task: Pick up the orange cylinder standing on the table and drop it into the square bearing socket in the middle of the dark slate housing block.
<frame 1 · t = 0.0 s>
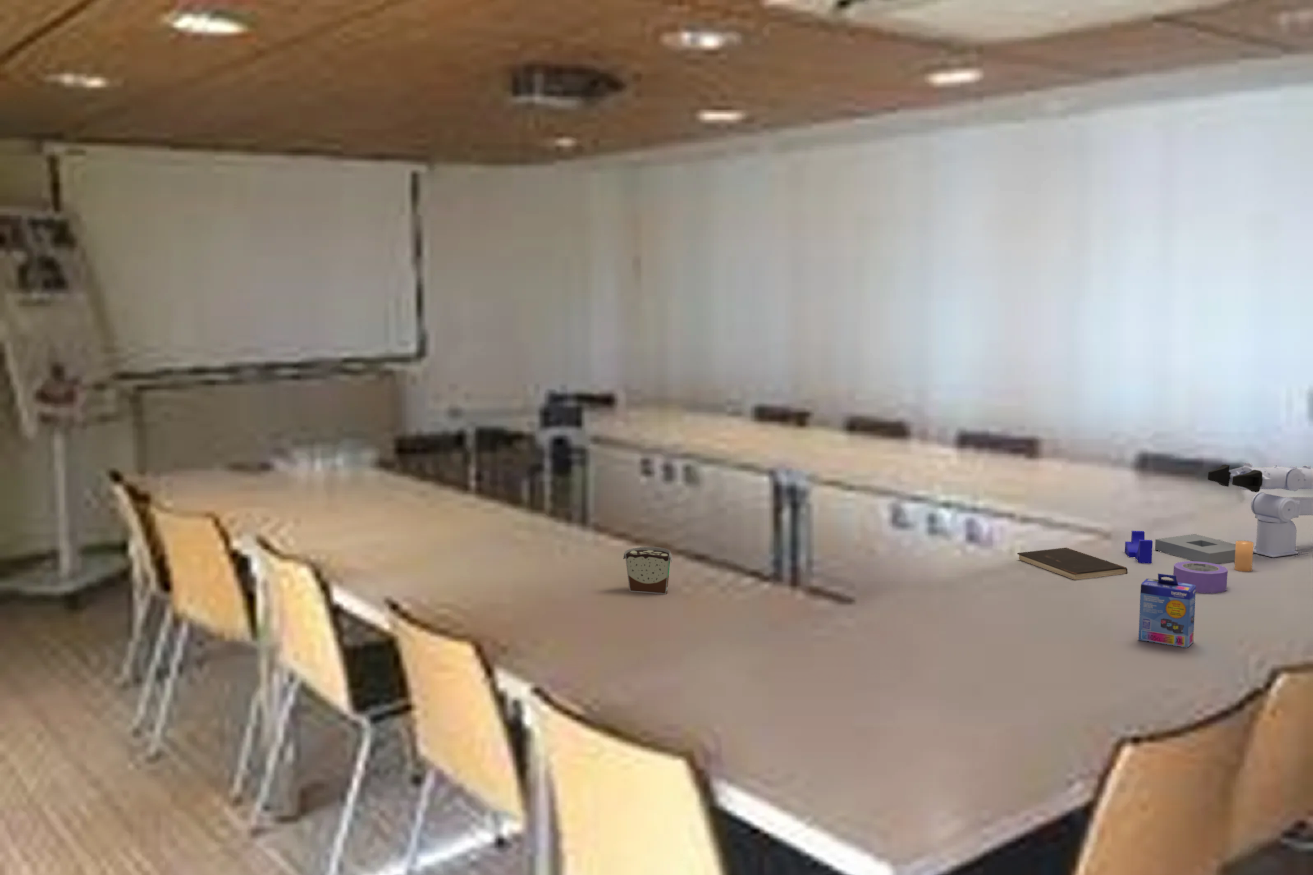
hand: (1221, 478, 312), 22 cm above the table, tool horizontal, fingers open, 7 cm apart
tape roll: (1199, 588, 292), on the table
food container: (652, 590, 297), on the table
ink cartridge box: (1165, 642, 251), on the table
hardcover book: (1070, 569, 312), on the table
housing: (1201, 554, 322), on the table
cable clip: (1137, 558, 320), on the table
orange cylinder: (1243, 569, 306), on the table
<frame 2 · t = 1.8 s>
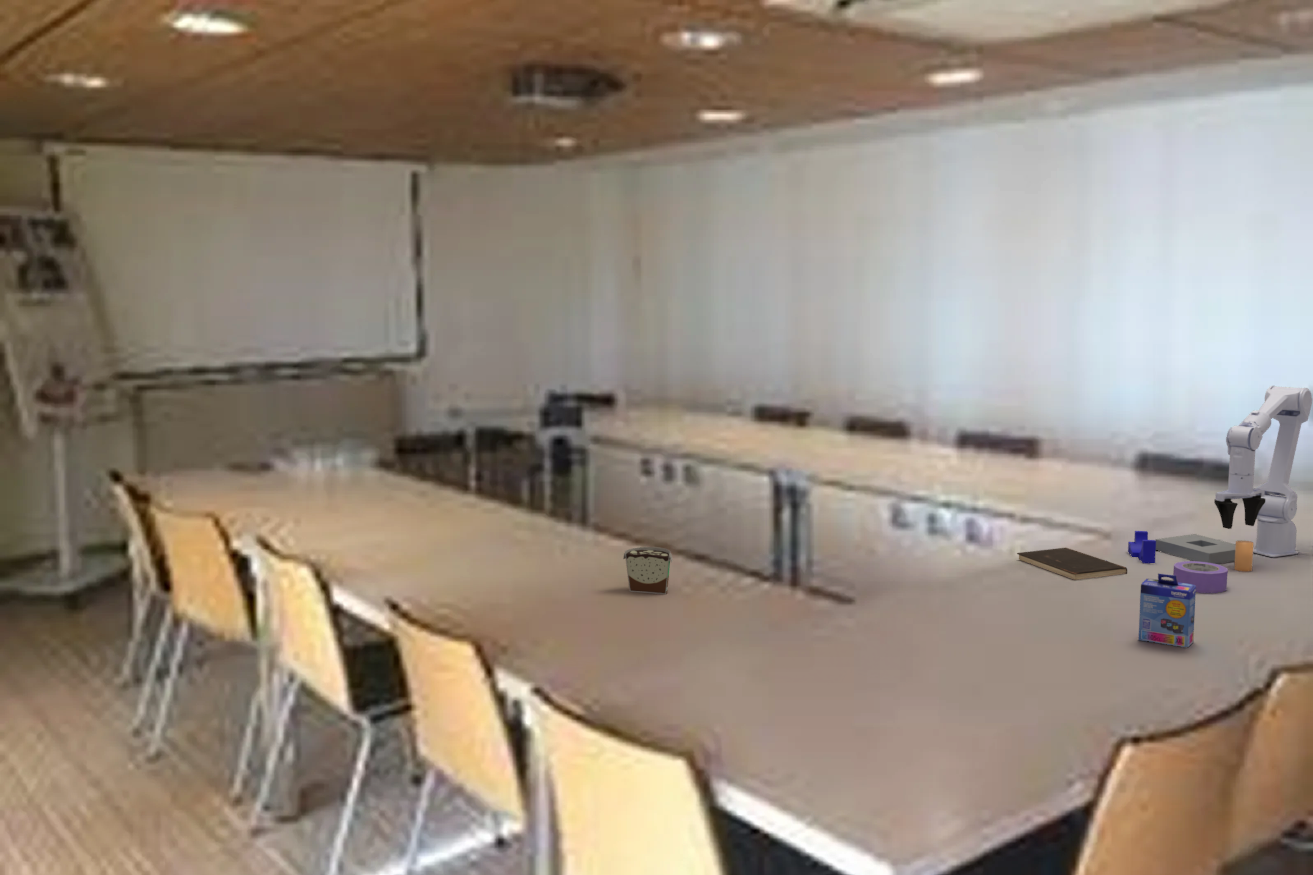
hand: (1238, 526, 309), 10 cm above the table, tool pointing down, fingers open, 7 cm apart
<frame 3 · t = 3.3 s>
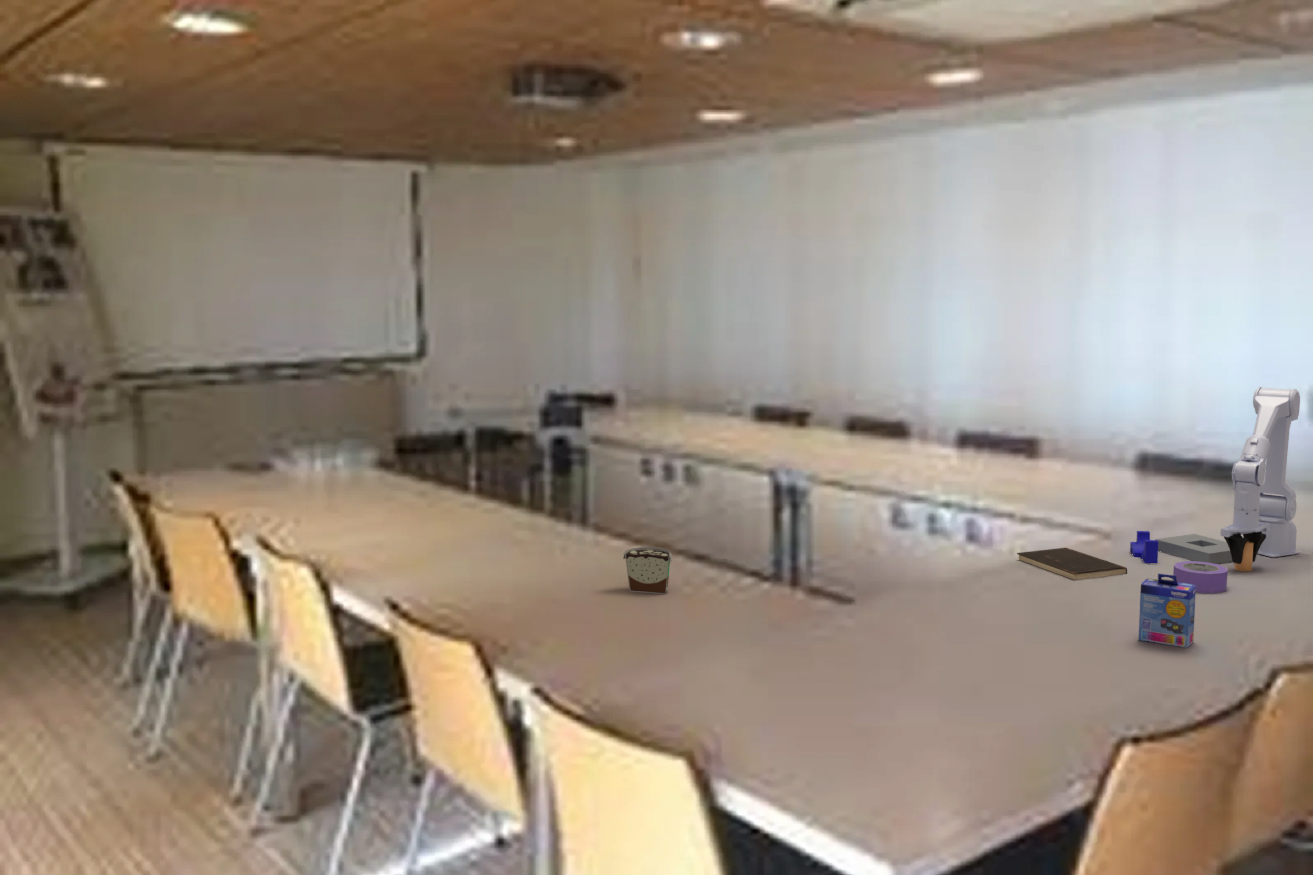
hand: (1243, 562, 306), 2 cm above the table, tool pointing down, fingers closed on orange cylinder, 4 cm apart
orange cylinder: (1243, 569, 306), on the table, touching gripper
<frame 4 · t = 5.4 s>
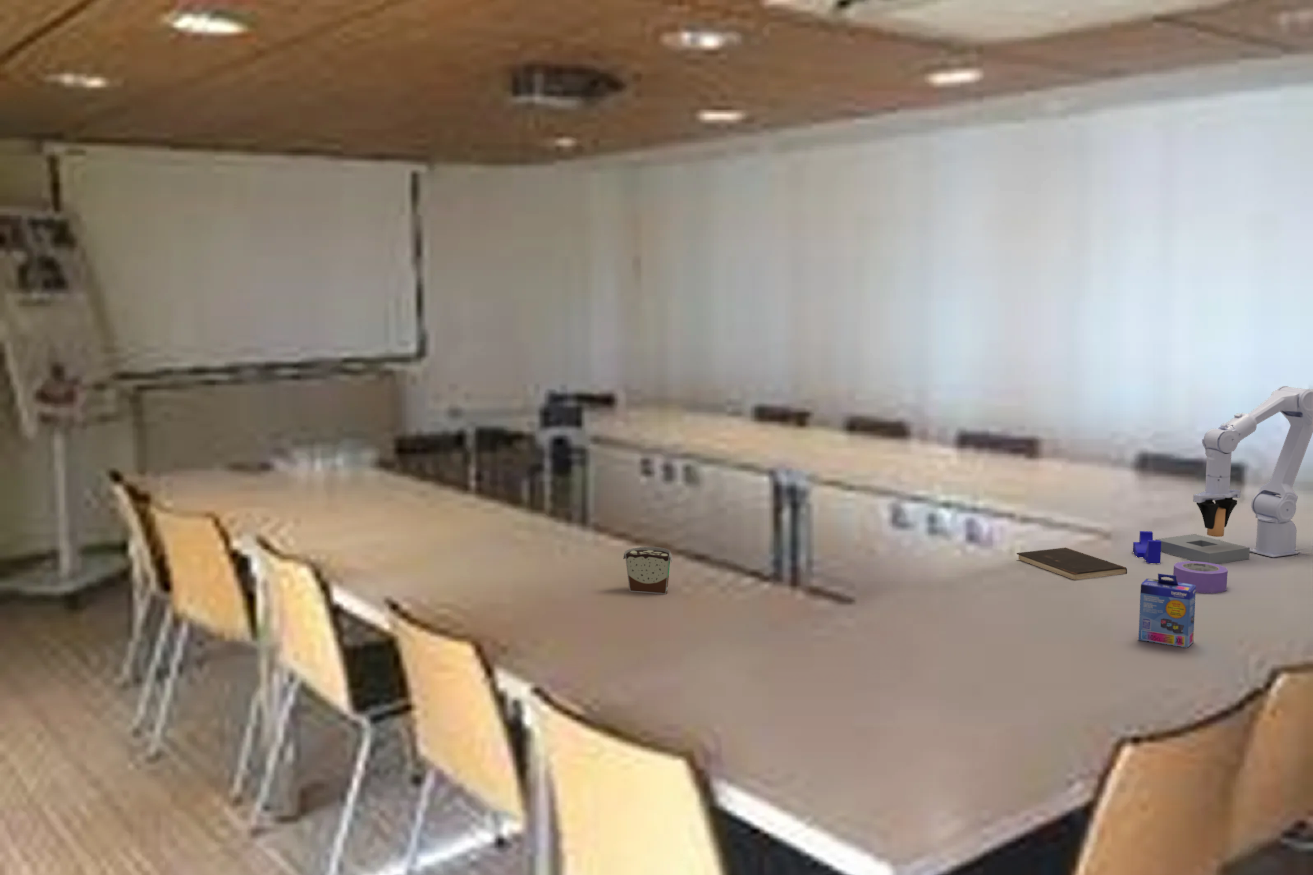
hand: (1215, 527, 316), 8 cm above the table, tool pointing down, fingers closed on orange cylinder, 4 cm apart
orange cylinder: (1215, 534, 316), point 6 cm above the table, touching gripper
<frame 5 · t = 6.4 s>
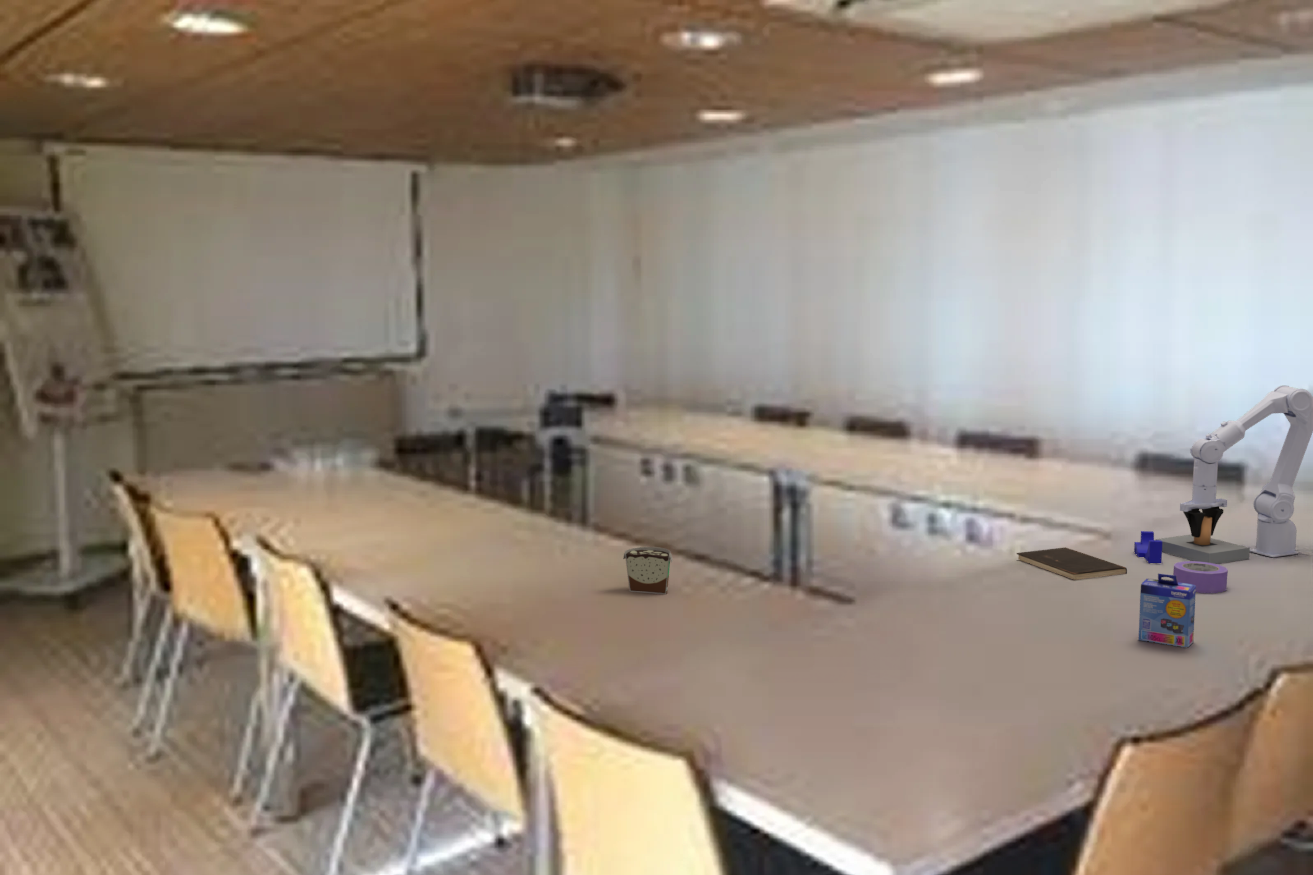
hand: (1202, 535, 321), 5 cm above the table, tool pointing down, fingers closed on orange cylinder, 4 cm apart
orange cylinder: (1201, 543, 322), point 3 cm above the table, touching gripper
when the fingers open (4 cm above the table, at t = 7.4 s): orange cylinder drops 1 cm, resting on housing.
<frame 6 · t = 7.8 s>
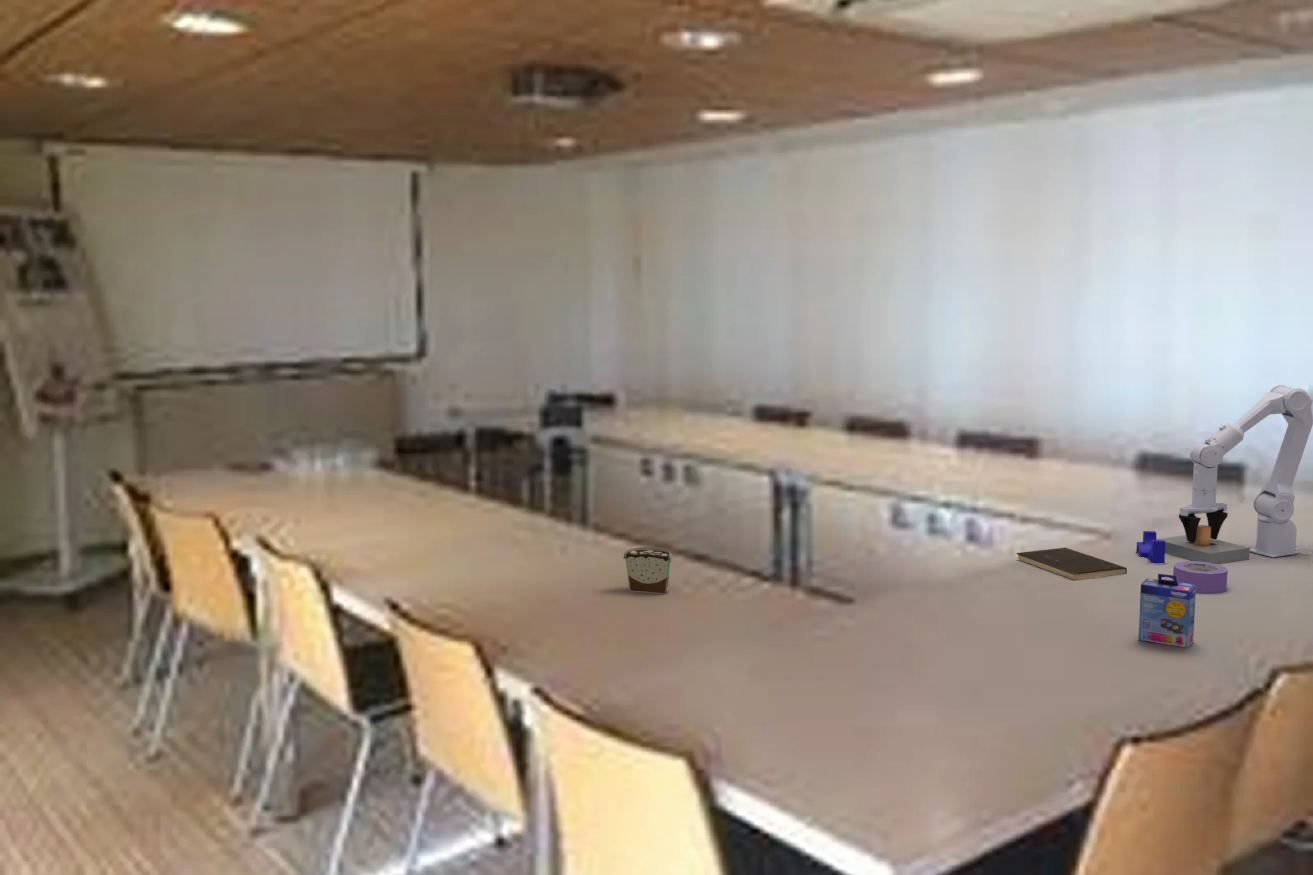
hand: (1202, 540, 322), 4 cm above the table, tool pointing down, fingers open, 7 cm apart
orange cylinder: (1201, 552, 322), point 1 cm above the table, touching housing
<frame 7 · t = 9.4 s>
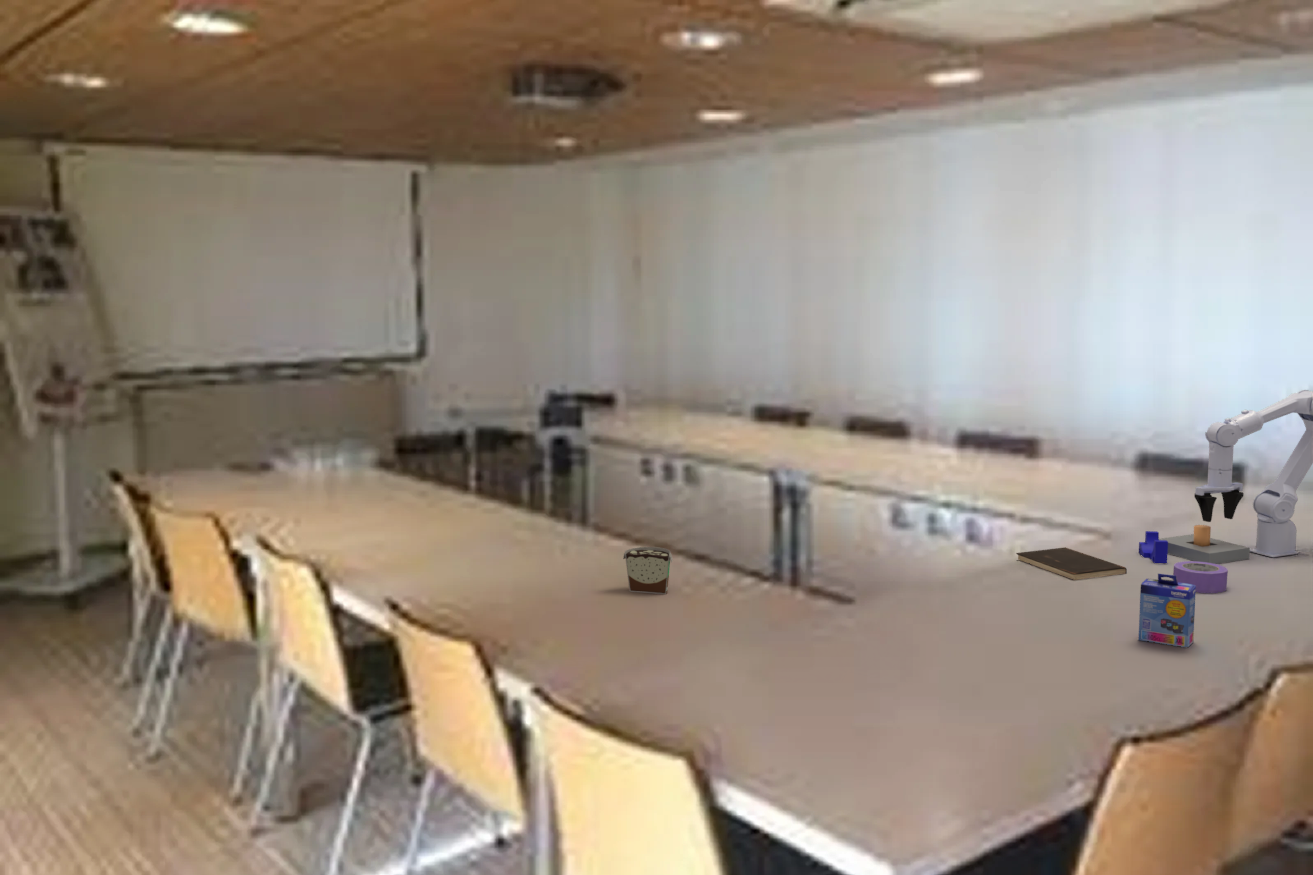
hand: (1217, 519, 320), 9 cm above the table, tool pointing down, fingers open, 7 cm apart
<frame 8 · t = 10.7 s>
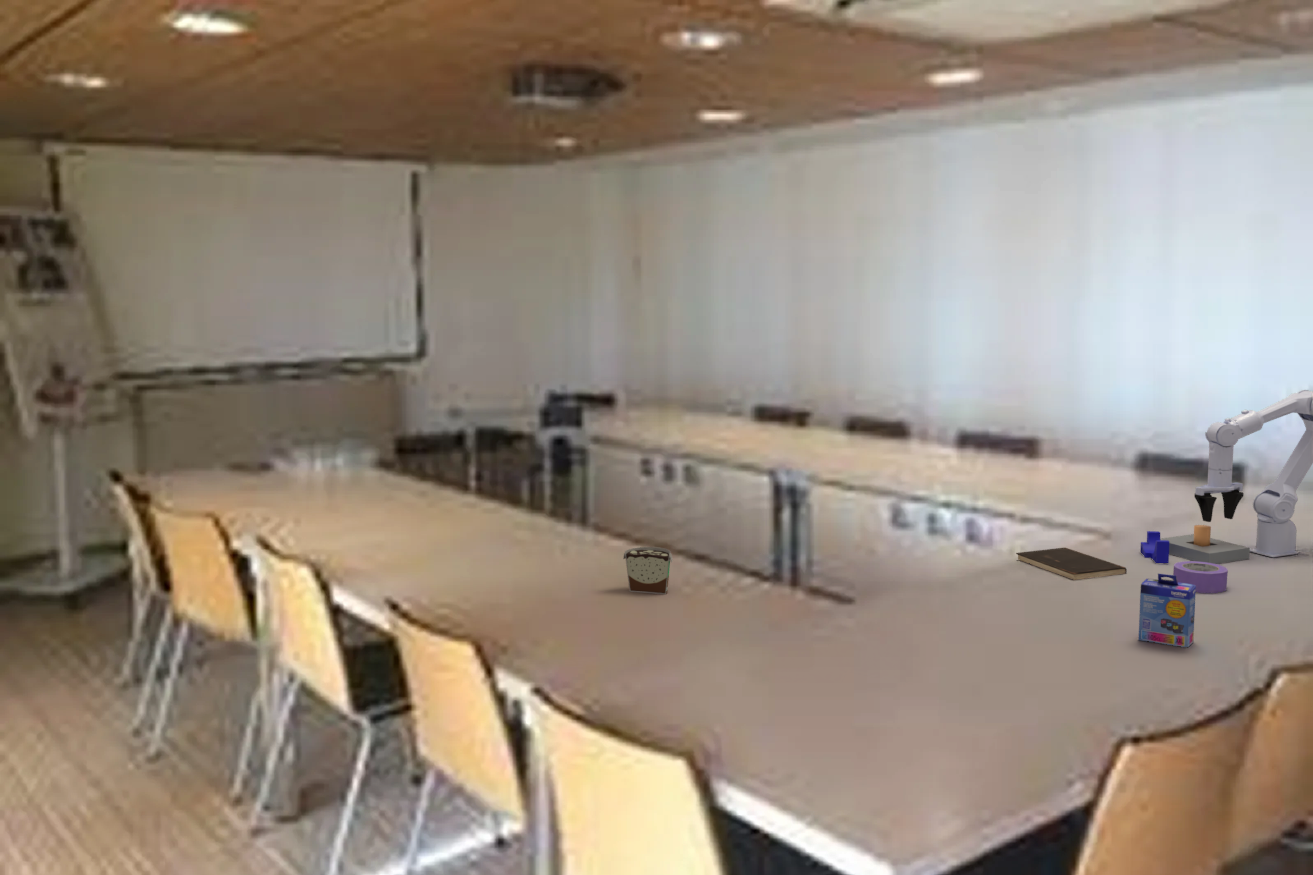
hand: (1217, 519, 320), 9 cm above the table, tool pointing down, fingers open, 7 cm apart
at the end: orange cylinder 0.1 cm off-centre on the housing, point 0.5 cm above the housing's base; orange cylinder tilted 1°; the gripper is holding nothing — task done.
